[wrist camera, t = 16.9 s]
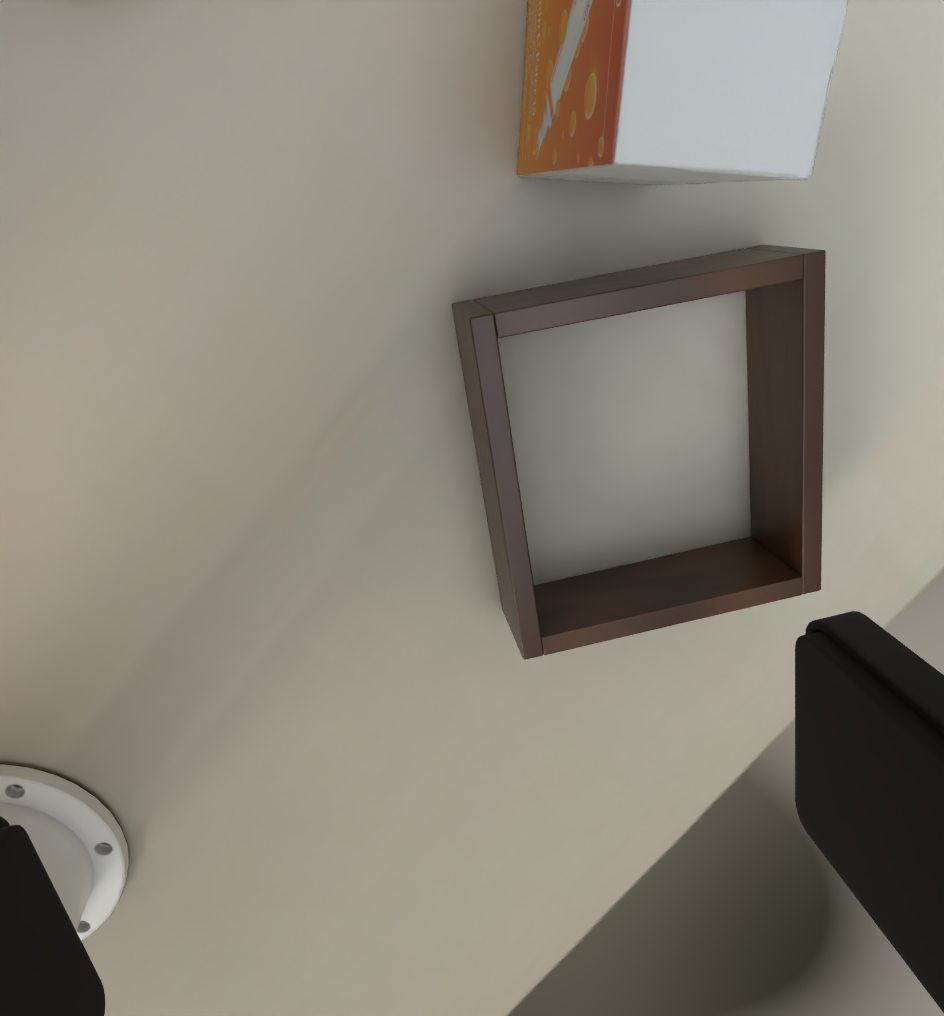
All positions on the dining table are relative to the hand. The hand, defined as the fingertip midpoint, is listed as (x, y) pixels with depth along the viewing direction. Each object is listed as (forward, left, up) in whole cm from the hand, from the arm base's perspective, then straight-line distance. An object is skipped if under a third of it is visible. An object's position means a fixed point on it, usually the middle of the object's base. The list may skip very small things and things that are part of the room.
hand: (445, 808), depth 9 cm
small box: (+12, +10, -28) cm, 32 cm away
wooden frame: (+12, -6, -28) cm, 31 cm away
